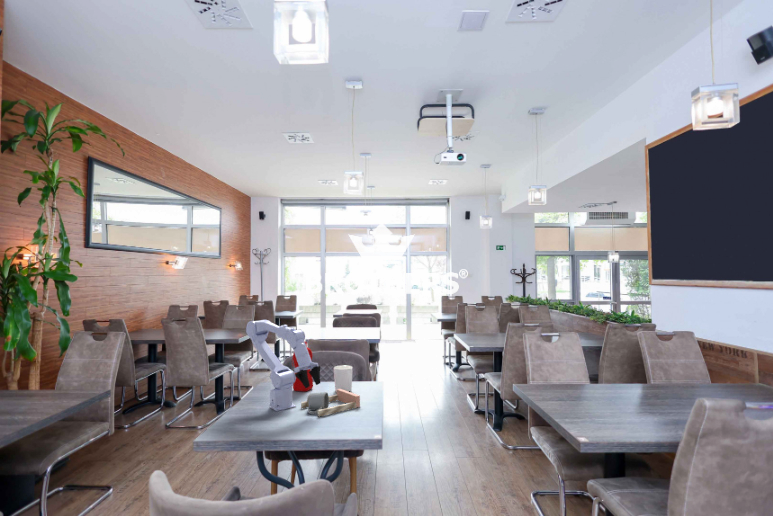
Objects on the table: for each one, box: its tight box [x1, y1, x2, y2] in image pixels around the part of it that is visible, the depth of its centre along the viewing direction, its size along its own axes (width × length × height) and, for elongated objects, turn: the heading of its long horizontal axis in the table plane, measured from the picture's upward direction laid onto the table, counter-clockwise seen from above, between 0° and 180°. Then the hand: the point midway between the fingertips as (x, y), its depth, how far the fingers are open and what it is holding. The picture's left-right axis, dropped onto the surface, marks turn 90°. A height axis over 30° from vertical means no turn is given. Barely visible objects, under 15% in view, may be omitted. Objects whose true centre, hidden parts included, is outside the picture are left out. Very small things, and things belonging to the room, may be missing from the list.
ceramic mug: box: [306, 391, 330, 415], centre depth 186 cm, size 11×8×8 cm
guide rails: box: [300, 394, 357, 418], centre depth 190 cm, size 19×16×2 cm
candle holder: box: [333, 365, 354, 393], centre depth 218 cm, size 10×10×12 cm
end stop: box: [336, 389, 361, 409], centre depth 196 cm, size 2×16×5 cm, turn 38°
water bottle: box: [291, 340, 314, 393], centre depth 223 cm, size 9×11×25 cm
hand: (313, 385), depth 183 cm, fingers open, 7 cm apart
